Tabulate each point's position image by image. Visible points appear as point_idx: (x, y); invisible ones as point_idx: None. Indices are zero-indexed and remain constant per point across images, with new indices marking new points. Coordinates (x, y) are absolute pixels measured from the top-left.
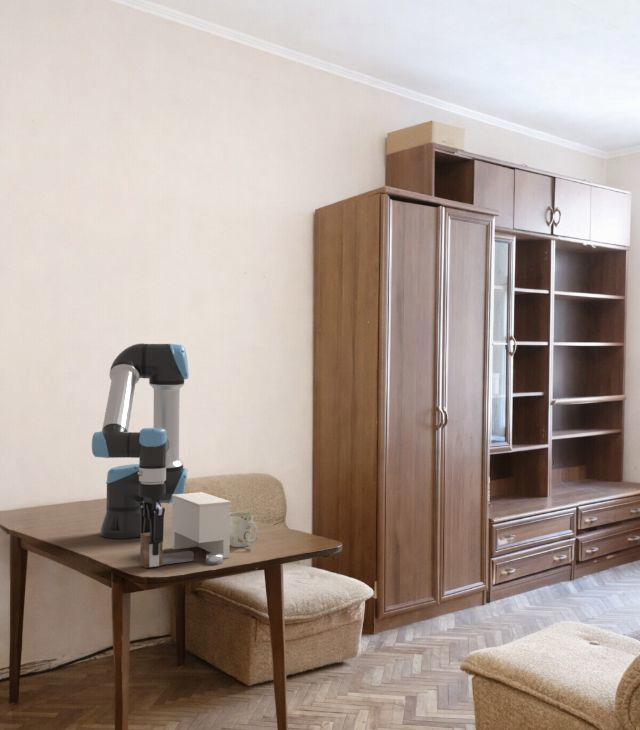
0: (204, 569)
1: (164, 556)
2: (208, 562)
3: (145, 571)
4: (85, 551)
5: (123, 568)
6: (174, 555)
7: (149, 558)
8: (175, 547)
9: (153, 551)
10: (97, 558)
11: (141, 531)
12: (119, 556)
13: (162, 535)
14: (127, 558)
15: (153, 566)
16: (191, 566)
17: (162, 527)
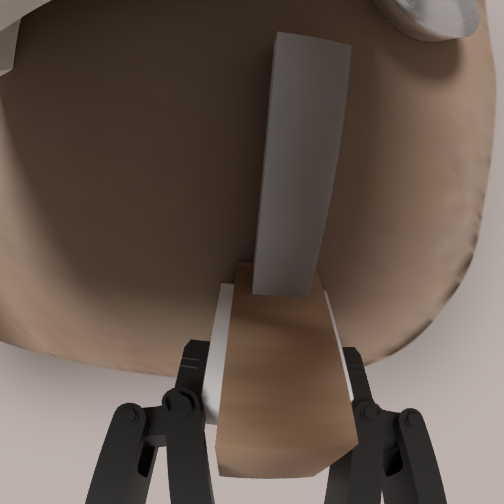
0: (485, 133)
1: (311, 277)
2: (433, 40)
3: None
4: (14, 335)
5: None
6: (326, 206)
7: None
8: (7, 64)
9: None
10: (78, 357)
11: (155, 459)
12: (59, 310)
13: (428, 447)
14: (89, 306)
15: None
16: (416, 137)
17: (439, 493)
